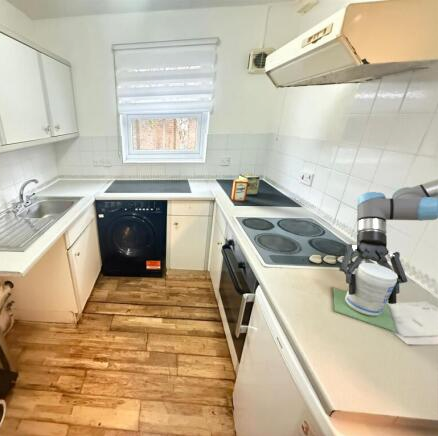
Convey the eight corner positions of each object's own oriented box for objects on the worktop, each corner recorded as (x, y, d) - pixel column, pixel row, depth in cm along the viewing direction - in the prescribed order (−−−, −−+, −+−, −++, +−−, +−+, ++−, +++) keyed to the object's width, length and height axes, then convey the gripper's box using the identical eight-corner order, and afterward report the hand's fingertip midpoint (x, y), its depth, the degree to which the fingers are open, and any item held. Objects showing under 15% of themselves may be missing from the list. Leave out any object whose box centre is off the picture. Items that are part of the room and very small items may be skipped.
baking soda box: (243, 198, 190) (246, 179, 184) (245, 201, 184) (248, 181, 178) (231, 198, 192) (233, 178, 185) (232, 200, 186) (235, 180, 179)
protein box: (245, 196, 197) (248, 177, 191) (236, 190, 212) (239, 173, 205) (257, 195, 198) (260, 177, 192) (248, 190, 212) (250, 173, 206)
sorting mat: (386, 304, 82) (387, 303, 82) (395, 332, 72) (396, 331, 72) (333, 288, 90) (333, 287, 90) (334, 311, 80) (335, 310, 79)
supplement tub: (384, 321, 75) (404, 283, 69) (347, 310, 79) (362, 274, 73) (375, 302, 83) (392, 266, 77) (341, 293, 87) (355, 259, 81)
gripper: (406, 243, 82) (409, 310, 75) (329, 232, 90) (325, 290, 83) (421, 236, 75) (427, 308, 68) (337, 224, 84) (334, 287, 77)
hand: (371, 298), depth 76 cm, fingers closed on supplement tub, 9 cm apart
